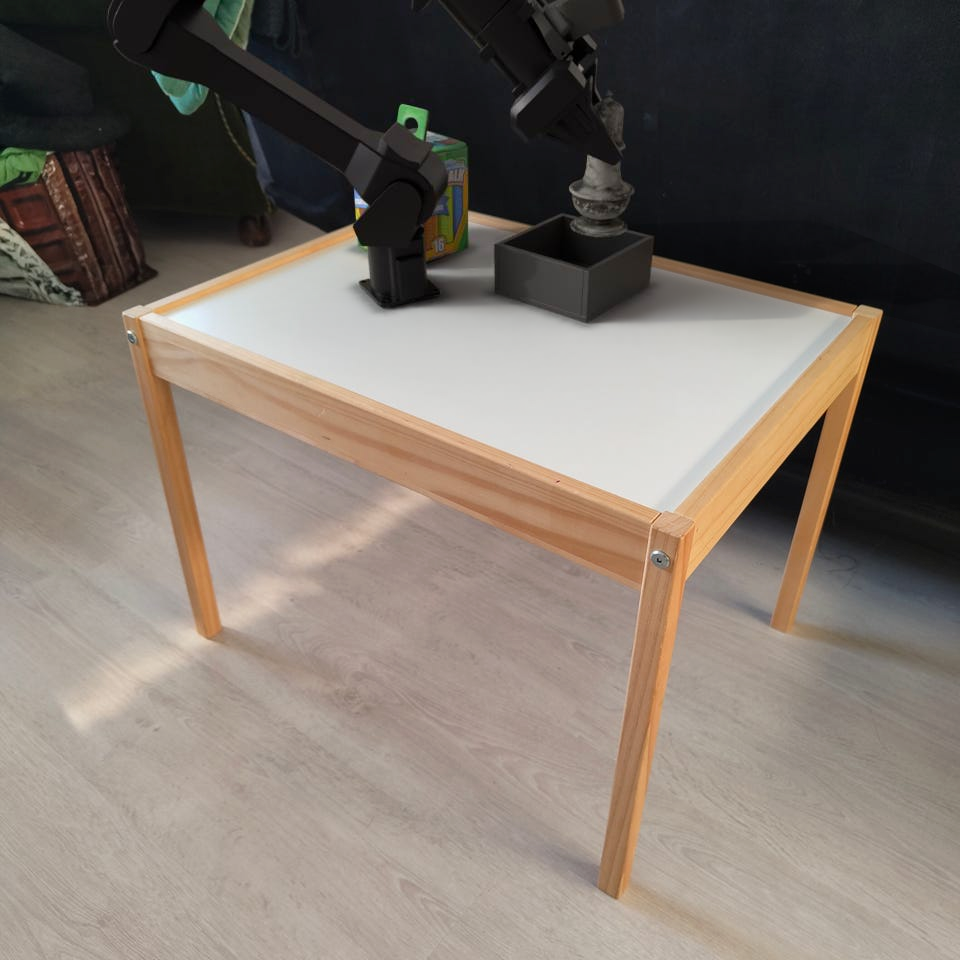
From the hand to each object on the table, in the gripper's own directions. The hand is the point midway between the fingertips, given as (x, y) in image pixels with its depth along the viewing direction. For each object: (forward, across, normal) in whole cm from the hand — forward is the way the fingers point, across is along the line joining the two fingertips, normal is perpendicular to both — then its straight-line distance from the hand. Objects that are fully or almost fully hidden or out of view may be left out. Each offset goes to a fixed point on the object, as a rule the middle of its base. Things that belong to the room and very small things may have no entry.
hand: (619, 155), depth 79 cm
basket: (+7, +3, +12) cm, 15 cm away
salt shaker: (+4, 0, +6) cm, 7 cm away
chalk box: (-5, +12, +26) cm, 29 cm away
